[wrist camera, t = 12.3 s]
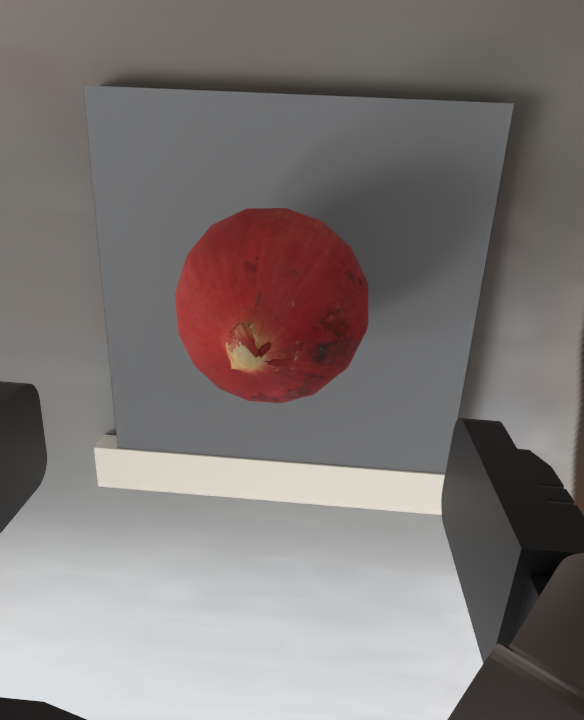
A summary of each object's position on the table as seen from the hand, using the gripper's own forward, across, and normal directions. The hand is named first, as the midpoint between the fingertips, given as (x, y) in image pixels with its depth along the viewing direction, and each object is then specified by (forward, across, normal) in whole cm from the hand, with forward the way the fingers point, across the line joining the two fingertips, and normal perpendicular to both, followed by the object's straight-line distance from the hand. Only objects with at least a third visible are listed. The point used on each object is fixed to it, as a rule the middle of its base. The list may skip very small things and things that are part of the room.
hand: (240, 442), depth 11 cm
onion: (+11, 0, -1) cm, 11 cm away
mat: (+12, 0, +1) cm, 12 cm away
